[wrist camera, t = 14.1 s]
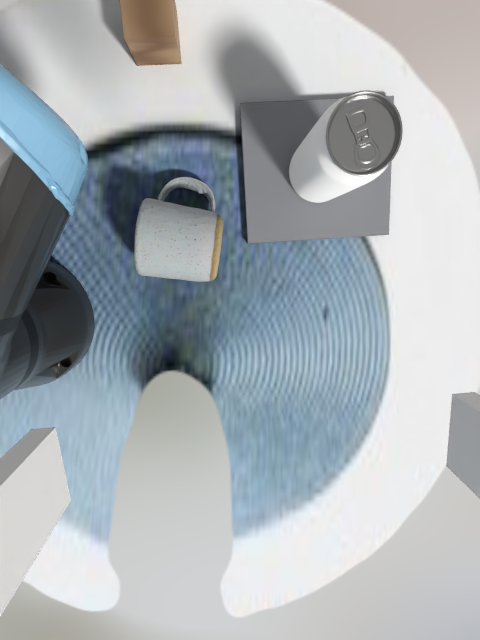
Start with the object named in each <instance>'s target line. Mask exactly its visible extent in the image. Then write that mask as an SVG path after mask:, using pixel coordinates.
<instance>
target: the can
mask: <svg viewBox="0 0 480 640" xmlns="http://www.w3.org/2000/svg"><path fill="white" fill-rule="evenodd" d="M401 139H402V121H401V117H400V114H399V112H398V110H397V108H396V107H395V105H394V104H393V103H392V101H391V100H390V99H388V98H387V97H386V96H384V95H382V94H380V93H378V92H374V91H359V92H356V93H353V94H351V95H349V96H346V97H343V98H341V99H339V100H338V101H336V102H335V103H333V104H332V105H331V106H330V107H329V108H328V109H327V110H326V111H325V112H324V114H323V115H322V116H321V117H320V119H319V120H318V121H317V123H316V124H315V125H314V127H313V128H312V129H311V131H310V132H309V133H308V135H307V136H306V137H305V139H304V140H303V141H302V143H301V144H300V146H299V147H298V148H297V150H296V151H295V153H294V155H293V157H292V159H291V162H290V167H289V177H290V181H291V184H292V187H293V188H294V190H295V191H296V193H297V194H298V195H299V196H300V197H302V198H303V199H305V200H307V201H310V202H315V203H322V202H326V201H329V200H331V199H333V198H336V197H338V196H340V195H343V194H345V193H347V192H349V191H352V190H354V189H356V188H358V187H360V186H362V185H365V184H367V183H369V182H370V181H372V180H374V179H375V178H377V177H378V176H379V175H380V174H381V173H382V172H383V171H384V170H385V169H386V168H387V166H388V165H389V163H390V162H391V161H392V160H393V158H394V157H395V155H396V154H397V152H398V149H399V147H400V144H401Z"/></svg>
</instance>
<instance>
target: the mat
mask: <svg viewBox="0 0 480 640" xmlns="http://www.w3.org/2000/svg"><path fill="white" fill-rule="evenodd" d="M386 97H387V98H388V99H390V100H391V101H392V103H393V104H394V96H386ZM339 99H341V98H338V99H317V100H296V101H275V102H254V103H240V116H241V134H242V153H243V171H244V189H245V207H246V226H247V243H262V242H278V241H295V240H311V239H327V238H343V237H359V236H375V235H389V213H390V186H391V162H390V163H389V165H388V166H387V168H386V169H385V170H384V171H383V172H382V173H381V174H380V175H379V176H378V177H377V178H375V179H374V180H372V181H370V182H369V183H367V184H365V185H362V186H360V187H358V188H356V189H354V190H352V191H349V192H347V193H345V194H343V195H340V196H338V197H336V198H333V199H331V200H329V201H326V202H322V203H315V202H310V201H307V200H305V199H303V198H302V197H300V196H299V195H298V194H297V193H296V191H295V190H294V188H293V187H292V184H291V181H290V177H289V167H290V162H291V159H292V157H293V155H294V153H295V151H296V150H297V148H298V147H299V146H300V144H301V143H302V141H303V140H304V139H305V137H306V136H307V135H308V133H309V132H310V131H311V129H312V128H313V127H314V125H315V124H316V123H317V121H318V120H319V119H320V117H321V116H322V115H323V114H324V112H325V111H326V110H327V109H328V108H329V107H330V106H331V105H332V104H333V103H335V102H336V101H338V100H339Z"/></svg>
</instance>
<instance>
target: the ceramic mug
mask: <svg viewBox="0 0 480 640" xmlns="http://www.w3.org/2000/svg"><path fill="white" fill-rule="evenodd" d="M177 188H186V189H190V190H194V191H197V192H198V193H199V194H204V195H205V196H206V197H207V198H208V200H209V202H210V207H211V211H208V210H203V209H199V208H192V207H187V206H182V205H178V204H174V203H169V202H164V200H165V198H166V197H167V196H168V194H169V193H170V192H171V191H173V190H174V189H177ZM222 233H223V219H222V218H221V216H220V215H218V214H216V213H215V199H214V195H213V193H212V191H211V190H210V188H209V187H208V186H207V185H206V184H205V183H203V182H202V181H200V180H198V179H195V178H191V177H178V178H175V179H173V180H171V181H170V182H168V183H167V184H166V185H165V187H164V188H163V189H162V191H161V192H160V194H159V197H158V199H157V200H156V199H151V198H145V199H144V200H143V202H142V204H141V206H140V209H139V213H138V217H137V222H136V230H135V243H134V261H135V266H136V271H137V272H138V274H140V275H143V276H154V277H161V278H170V279H181V280H189V281H199V282H201V281H212V280H213V279H215V278H216V276H217V271H218V264H219V257H220V251H221V242H222Z"/></svg>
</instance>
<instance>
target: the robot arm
mask: <svg viewBox="0 0 480 640" xmlns="http://www.w3.org/2000/svg"><path fill="white" fill-rule="evenodd" d="M87 168H88V158H87V153H86V150H85V148H84V146H83V144H82V142H81V140H80V139H79V138H78V136H77V135H76V134H75V132H74V131H73V130H72V129H71V128H70V127H69V125H68V124H67V123H66V122H65V121H64V120H63V119H62V118H61V117H60V116H59V115H58V114H57V113H56V112H55V111H53V110H52V109H51V108H50V107H49V106H48V105H47V104H46V103H45V102H44V101H43V100H42V99H40V98H39V97H38V96H37V95H36V94H35V93H34V92H33V91H32V90H30V89H29V88H28V87H27V86H26V85H25V84H23V83H22V82H21V81H20V80H19V79H18V78H16V77H15V76H14V75H13V74H12V73H11V72H9V71H8V70H7V69H6V68H5V67H3V66H2V65H1V64H0V399H1V398H3V397H4V396H6V395H7V394H8V393H10V392H11V391H13V390H18V389H23V388H29V387H34V386H39V385H43V384H47V383H49V382H52V381H54V380H56V379H58V378H60V377H61V376H63V375H64V374H66V373H67V372H68V371H70V370H71V369H72V368H74V367H75V366H76V365H77V364H78V363H79V362H80V361H81V360H82V359H83V357H84V356H85V355H86V353H87V351H88V349H89V347H90V345H91V342H92V339H93V334H94V314H93V309H92V306H91V303H90V300H89V298H88V296H87V294H86V292H85V290H84V289H83V287H82V286H81V284H80V283H79V282H78V281H77V279H76V278H75V277H74V276H73V275H72V274H71V273H70V272H68V271H67V270H66V269H65V268H63V267H62V266H60V265H59V264H57V263H55V262H53V261H51V260H49V259H50V257H51V254H52V252H53V250H54V248H55V246H56V244H57V242H58V240H59V237H60V235H61V233H62V231H63V229H64V227H65V225H66V223H67V220H68V218H69V216H73V214H74V206H73V205H74V202H75V200H76V197H77V195H78V192H79V190H80V187H81V185H82V182H83V180H84V177H85V175H86V172H87ZM446 466H447V467H448V468H449V469H450V470H451V471H452V472H453V473H454V474H455V475H456V476H457V477H458V478H459V479H460V480H461V481H462V482H463V483H464V484H466V486H467V487H468V488H469V489H470V490H472V491H473V492H474V493H475V494H476V495H477V496H478V497H479V498H480V395H478V394H477V393H475V392H471V393H459V394H452V404H451V416H450V429H449V441H448V453H447V465H446ZM70 501H71V499H70V494H69V489H68V484H67V479H66V475H65V470H64V465H63V460H62V455H61V450H60V446H59V441H58V436H57V431H56V427H53V428H42V429H31V430H30V431H29V432H28V433H27V434H26V435H25V436H24V437H23V438H22V439H21V440H20V441H19V442H18V443H16V444H15V445H14V446H13V447H12V448H11V449H10V450H9V451H8V452H7V453H6V454H5V455H4V456H3V457H2V458H1V459H0V616H1V615H2V613H3V611H4V610H5V608H6V606H7V605H8V603H9V601H10V600H11V598H12V597H13V595H14V593H15V592H16V590H17V588H18V587H19V585H20V583H21V582H22V580H23V578H24V577H25V575H26V573H27V572H28V570H29V569H30V567H31V565H32V564H33V562H34V560H35V559H36V557H37V555H38V554H39V552H40V550H41V549H42V547H43V545H44V544H45V542H46V540H47V539H48V537H49V536H50V534H51V532H52V531H53V529H54V527H55V526H56V524H57V522H58V521H59V519H60V517H61V516H62V514H63V512H64V511H65V509H66V508H67V506H68V504H69V503H70Z"/></svg>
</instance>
